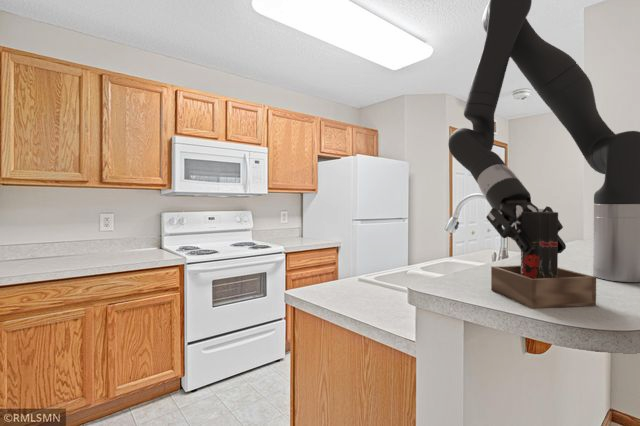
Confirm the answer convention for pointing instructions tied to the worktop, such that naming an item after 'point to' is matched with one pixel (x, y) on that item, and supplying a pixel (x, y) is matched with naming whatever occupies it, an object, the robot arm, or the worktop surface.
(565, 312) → the worktop surface
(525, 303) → the holder box
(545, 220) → the deodorant
